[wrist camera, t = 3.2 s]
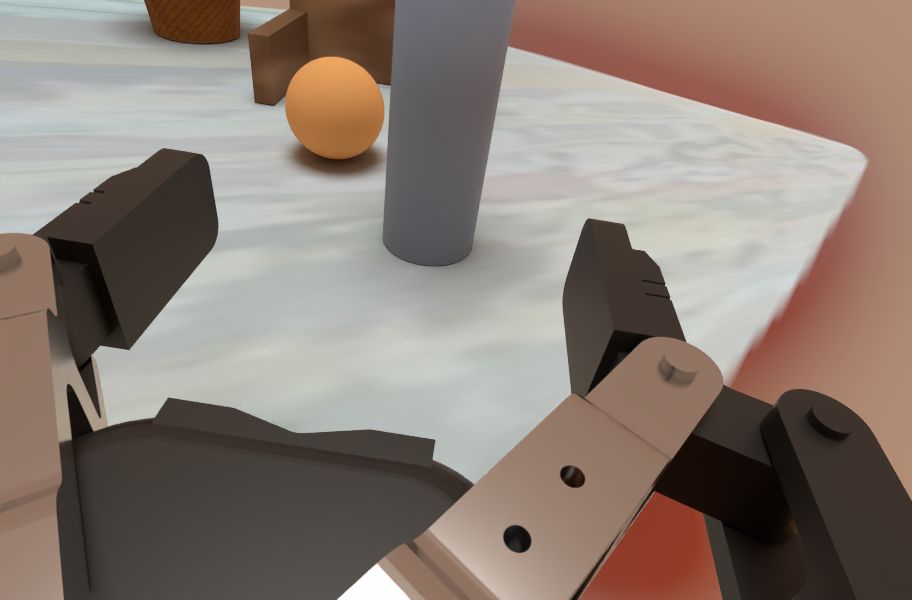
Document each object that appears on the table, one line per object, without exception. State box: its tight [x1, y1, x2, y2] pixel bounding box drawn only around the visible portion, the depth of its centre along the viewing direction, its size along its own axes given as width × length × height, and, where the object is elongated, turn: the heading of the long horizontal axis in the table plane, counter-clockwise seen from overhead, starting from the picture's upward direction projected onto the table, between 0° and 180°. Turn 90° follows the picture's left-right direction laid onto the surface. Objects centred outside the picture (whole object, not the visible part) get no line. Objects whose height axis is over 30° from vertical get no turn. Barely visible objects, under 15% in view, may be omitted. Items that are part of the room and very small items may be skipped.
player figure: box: [383, 0, 516, 266], centre depth 19 cm, size 5×5×17 cm
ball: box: [285, 57, 384, 159], centre depth 28 cm, size 5×5×5 cm
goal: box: [248, 0, 395, 105], centre depth 34 cm, size 13×9×10 cm, turn 85°
